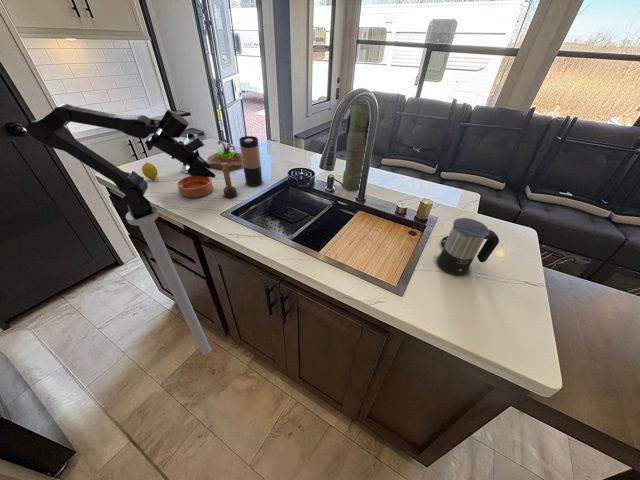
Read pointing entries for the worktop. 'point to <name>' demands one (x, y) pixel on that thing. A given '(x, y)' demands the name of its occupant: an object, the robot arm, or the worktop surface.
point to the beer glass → (181, 162)
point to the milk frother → (466, 245)
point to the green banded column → (355, 145)
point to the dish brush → (228, 183)
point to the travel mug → (251, 160)
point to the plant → (226, 158)
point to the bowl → (195, 186)
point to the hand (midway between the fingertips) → (212, 171)
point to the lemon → (149, 170)
